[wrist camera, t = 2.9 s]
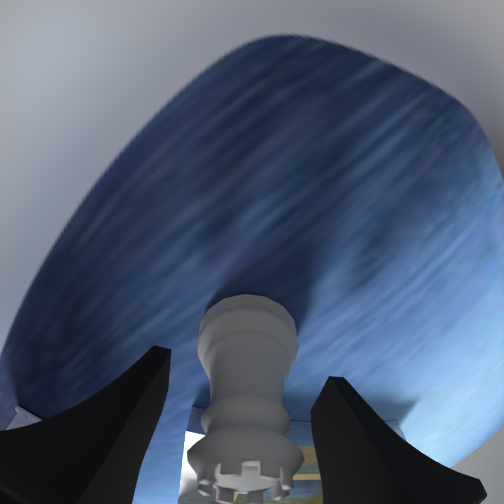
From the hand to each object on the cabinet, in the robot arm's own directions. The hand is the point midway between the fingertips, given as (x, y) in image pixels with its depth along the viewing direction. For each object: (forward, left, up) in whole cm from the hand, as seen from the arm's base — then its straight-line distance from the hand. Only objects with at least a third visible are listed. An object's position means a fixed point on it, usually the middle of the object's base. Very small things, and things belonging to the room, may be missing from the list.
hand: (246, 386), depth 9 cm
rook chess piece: (0, 0, -4) cm, 4 cm away
